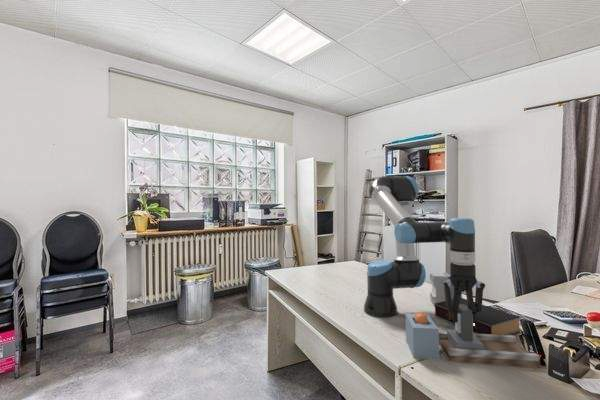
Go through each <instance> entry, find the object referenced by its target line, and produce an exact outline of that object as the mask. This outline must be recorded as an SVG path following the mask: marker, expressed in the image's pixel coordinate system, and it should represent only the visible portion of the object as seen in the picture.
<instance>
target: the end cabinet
mask: <svg viewBox="0 0 600 400" xmlns="http://www.w3.org/2000/svg"><path fill="white" fill-rule="evenodd" d="M426 315H427V324H418V323H415V313H405V341H406V344H407V346H408V348H409V351H410V353H411V355H412V357H413V358H414V359H427V360H428V359H429V360H440V346H439V332H440V331H439V330H440V329H439V327H438V326H437V324H436V323H435V322H434V320H433V319H432V318H431V316H430V315H429V314H426Z"/></svg>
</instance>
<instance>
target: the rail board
mask: <svg viewBox="0 0 600 400" xmlns="http://www.w3.org/2000/svg"><path fill="white" fill-rule="evenodd" d="M473 334H474V335H475V336H476V337H477V338H478V339H479V340H480V341H481V342H482V343H483V347H484V350H474V349H458V348H454V347H453V346H452V344H451V343H450V342H449V340H448V339H447V331H439V348H441V350H442V352H443V353H444V355H445V356H446V358H447V360H448V361H449V362H450V363H461V364H473V365H474V364H477V365H489V366H504V367H505V366H507V367H519V368H521V367H522V368H532V369H534V368H535V369H541V361H540V360H541V359H540V358H541V357H540V354H538V353H537V352H530V351H528V350H527V349H526V348H524V346H522V345H521V344H520V343H519V342H518V338H517V337H516V336H515V335H512V334H511V335H493V334H475V333H473Z"/></svg>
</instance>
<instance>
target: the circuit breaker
mask: <svg viewBox="0 0 600 400" xmlns="http://www.w3.org/2000/svg"><path fill="white" fill-rule="evenodd" d="M450 276H451V274H450V273H448V272H437V271H436V272H435V271H434V272H433V271H432V272H431V271H430V274H429V281H430V283H431V291H430V293H429V297H430V303H431V304H432V305H433V307H435V303H439V302H443V301H445V292H444V286H443V284H442V281H447V280H449V278H450ZM450 285H451V286H450V287H449V288H450V292H451V300H452V299H453V296H454V286H453V285H452V283H451V284H450ZM463 292H465V290H464V291H462V293H461V295H460V298H463Z"/></svg>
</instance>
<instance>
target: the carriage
mask: <svg viewBox="0 0 600 400" xmlns="http://www.w3.org/2000/svg"><path fill="white" fill-rule="evenodd" d="M458 312H459V313H460V314H461V333H458V332H457V331H456V330H455V329H446V332H447V339H448V340H449V342H450V343H451V344H452V346H453V347H454V348H458V349H474V350H484V347H483V343H482V342H481V341H480V340H479V339H478V338H477V337H476V336H475V335H474V334H475V333H474V334H473V332H472V310H471V309H469V308H468V307H467V306H466V305H465V304H459V309H458Z"/></svg>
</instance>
